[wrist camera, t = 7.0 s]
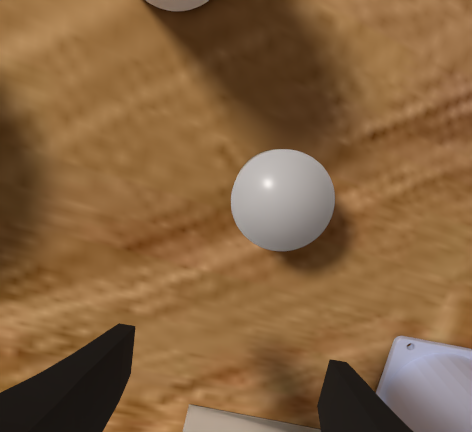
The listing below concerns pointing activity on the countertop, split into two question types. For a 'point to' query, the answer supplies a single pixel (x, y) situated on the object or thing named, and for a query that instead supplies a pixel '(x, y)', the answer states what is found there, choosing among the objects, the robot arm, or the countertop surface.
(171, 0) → the can
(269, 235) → the grey rounded dome
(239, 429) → the box
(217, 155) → the countertop surface
